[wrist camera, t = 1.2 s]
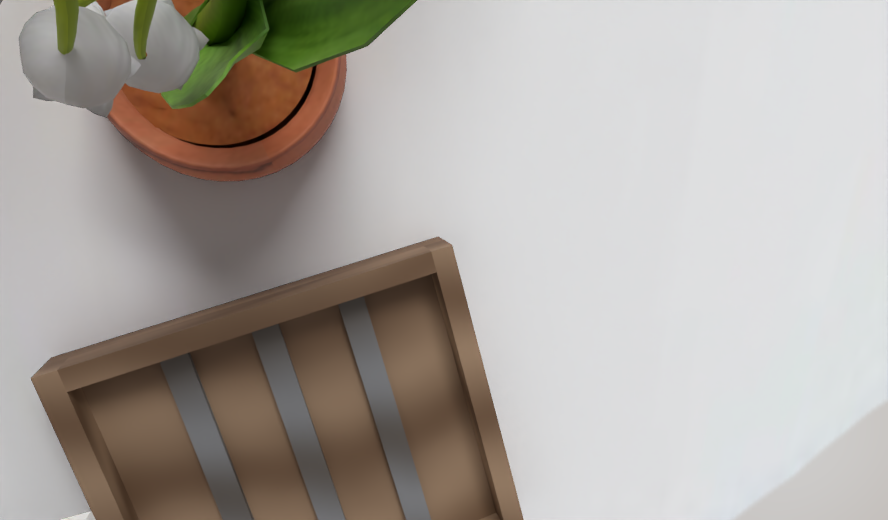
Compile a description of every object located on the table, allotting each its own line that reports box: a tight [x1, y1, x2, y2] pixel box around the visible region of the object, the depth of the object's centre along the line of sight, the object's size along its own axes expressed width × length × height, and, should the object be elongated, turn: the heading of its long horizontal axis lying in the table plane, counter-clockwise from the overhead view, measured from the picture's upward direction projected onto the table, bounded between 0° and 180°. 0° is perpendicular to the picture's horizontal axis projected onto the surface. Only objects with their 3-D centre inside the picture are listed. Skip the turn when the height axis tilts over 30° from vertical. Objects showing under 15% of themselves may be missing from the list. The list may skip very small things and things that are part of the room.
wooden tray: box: [31, 237, 523, 520], centre depth 31 cm, size 16×18×2 cm
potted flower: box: [0, 0, 417, 181], centre depth 16 cm, size 12×10×25 cm
